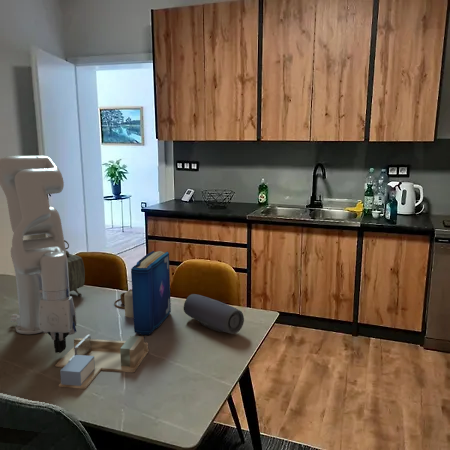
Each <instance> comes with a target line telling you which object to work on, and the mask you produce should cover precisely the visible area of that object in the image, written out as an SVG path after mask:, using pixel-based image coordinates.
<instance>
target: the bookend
mask: <svg viewBox="0 0 450 450" xmlns="http://www.w3.org/2000/svg"><path fill="white" fill-rule="evenodd" d="M83 338H84V339H83V340H82V341H80V342H79V343H78V344H77V345H76V346H75V347H74V346H73V347H74V350H75V355H86V354H87V353H88V352H89V351H90V350H91V339H92V338H91V334H87V335H86V336H84V337H83ZM75 355H74V356H75ZM74 356H73V357H74ZM73 357H72V358H73ZM72 358H71V359H72ZM71 359H70V360H71ZM70 360H69V361H70ZM69 361H68V362H69Z"/></svg>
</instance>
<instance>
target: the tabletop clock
mask: <svg viewBox="0 0 450 450" xmlns="http://www.w3.org/2000/svg"><path fill="white" fill-rule="evenodd" d="M64 242H65V244H66V245H67V247H65V249H66V256H67V261H68V276H69V291H70V293H71V292H72V291H73V292H75V293H76V294H77V297H82V293H81V292H79V291H78V289H80V288H83V287H84V286H85V281H86V278H85V277H86V274H85V273H86V270H85V264H84V259H83V258H82V257H81V256H80V255H76V254H72V253H71V254H70V252H69V251H68V249H69V248H70V243H69V242H68V241H67V240H65V239H64Z"/></svg>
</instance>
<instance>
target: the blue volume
mask: <svg viewBox="0 0 450 450" xmlns="http://www.w3.org/2000/svg"><path fill="white" fill-rule="evenodd" d="M130 272H131V274H130V275H131V289H132V297H133V316H134V318H133V333H135V334H138V335H143V336H144V335H151V334H152V333H153V332H154V331H155V330H157V329H158V328H159V327H160V326H161V325H162V324H163V322H164V321H165V320H166V319H167V318H168V316H169V315H170V314H171V311H172V309H171V307H172V306H171V280H170V279H171V278H170V277H171V276H170V275H171V273H170V252H168V251H166V252H164V251H161V250H159V251H155V250H152V251H151V252H149V253H147V254H145V255H143V257H142V258H140V259H139V260H138V261H137V262H136V265H134V266H132V267H131V268H130Z"/></svg>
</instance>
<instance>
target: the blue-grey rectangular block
mask: <svg viewBox="0 0 450 450" xmlns="http://www.w3.org/2000/svg"><path fill="white" fill-rule="evenodd" d="M94 370H95V361H94V356H86V355H75V356H74V357H73V358H72V359H71V360H70V361H69V362H68V363H67V364H66V365H65V366H64V367H61V369H60V371H59V372H60V383H61V384H63V385H76V386H81V385H82V384H83V382H84V381H85V380H86V379H87V378H88V377H89V375H90V374H91V373H92V372H93V371H94Z"/></svg>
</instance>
